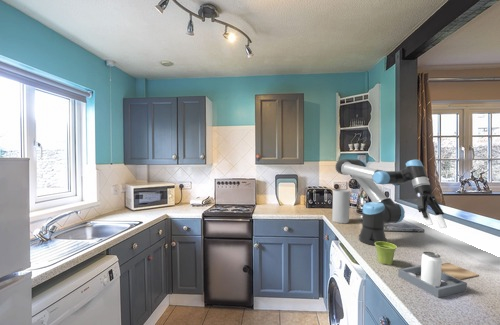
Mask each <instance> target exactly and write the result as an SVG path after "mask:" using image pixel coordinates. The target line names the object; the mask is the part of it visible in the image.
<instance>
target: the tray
mask: <svg viewBox="0 0 500 325" xmlns="http://www.w3.org/2000/svg"><path fill="white" fill-rule="evenodd" d="M397 271H398V273H397V274H398V275H397V277H399V278H401V279H403V280H404V281H406V282H409V283H410V284H412V285H414V286H415V287H416V288H417V287H418V288H419V289H421V290H423V291H424V292H426V293H428V294H431V295H432V296H434V297H436V298H443V297H447V296H449V295H450V296H452V295H455V294H458V293H463V292H466V290H467V291H468V283H467V282H465V281H464V280H459V279H457V278H455V277H453V276H450V275H448V274H446V273H444V272H441V281H443V282H445V283H446V285H443V286H439V287H435V286H433V285H431V284H429V283H427V282H425V281H423V280H421V278H419V277H417V275H419V274H420V275H421V265H420V264H419V265H416V266H409V267H405V268H399V269H397Z"/></svg>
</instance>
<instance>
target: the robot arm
mask: <svg viewBox="0 0 500 325" xmlns="http://www.w3.org/2000/svg"><path fill="white" fill-rule="evenodd" d="M335 171H336V172H337V173H338V174H340V175H344V176H350V177H351V179H353V180H356V182H357V183H358V184H359V186H360V187H361V188H362V190H363V191H364V192H365V193H366V195H367V196H368V198H369V199H370V200H371V201H369V202H366V203H365V202H364V204H363V206H362V225H361V226H362V227H361V230H360V233H359V234H358V240H359V242H361V243H363V244H366V245H369V246H370V245H371V246H374V247H376V245H375V242H378V241H381V242H388V239H387V237H386V233H385V225H386V224H396V223H399V222H402V221H403V220H404V218H405V215H406V214H405V213H406V212H405V208H404V207H403V206H402V205H401V204H399V203H396V202H394V201H393V200H392V198H391V197H387V196H386V195H385V194H384V192H383V191H382V190H381V189H380V188H379V186H378V185H382V186H383V185H392V186H395V187H399V186H402V185H403V184H406V183H409V182H410V181H411V184H412V188H414V192H415V196H416V203H417V204H416V205H417V211H418V212H419V213H421V216H422V218H423V220H424V224H425V226H430V225H433V224H434V223H433V221H432V218H431V216H430V213H429V212H430V211H428V206H429V207H430V208H431V209H432V211H433V212H434V214H435V217H436V221H437V222H438V226H439V228H440V229H444V228H445V229H446V228H447V224H446V221H445V218H444V216H443V215H445V212H443V209H442V207H441V206H440V204H439V203H438V202H437V200H436V199H437V198H436V197H435V196H434V195H433V196H432V195H431V194H432V193H433V192H434V191H433V188H432V185H431V183H430V181H429V180H430V178H428V176H427V173H426V171H425V167H424V165H423V162H422V161H421V160H420V159H411V160H408V161H406V162H405V167H403V169H401V170H394V171H393V170H391V171H388V170H387V171H386V170H382V169H378V168H377V169H376V168H373V167H367V164H366V162H365V161H364V160H363V159H359V158H341V159H339V160H338V161H337V162H336V163H335Z"/></svg>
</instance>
